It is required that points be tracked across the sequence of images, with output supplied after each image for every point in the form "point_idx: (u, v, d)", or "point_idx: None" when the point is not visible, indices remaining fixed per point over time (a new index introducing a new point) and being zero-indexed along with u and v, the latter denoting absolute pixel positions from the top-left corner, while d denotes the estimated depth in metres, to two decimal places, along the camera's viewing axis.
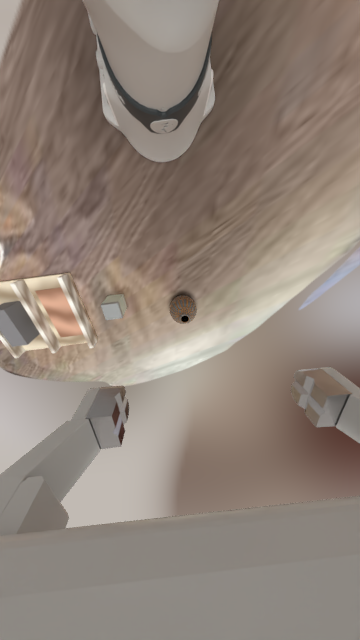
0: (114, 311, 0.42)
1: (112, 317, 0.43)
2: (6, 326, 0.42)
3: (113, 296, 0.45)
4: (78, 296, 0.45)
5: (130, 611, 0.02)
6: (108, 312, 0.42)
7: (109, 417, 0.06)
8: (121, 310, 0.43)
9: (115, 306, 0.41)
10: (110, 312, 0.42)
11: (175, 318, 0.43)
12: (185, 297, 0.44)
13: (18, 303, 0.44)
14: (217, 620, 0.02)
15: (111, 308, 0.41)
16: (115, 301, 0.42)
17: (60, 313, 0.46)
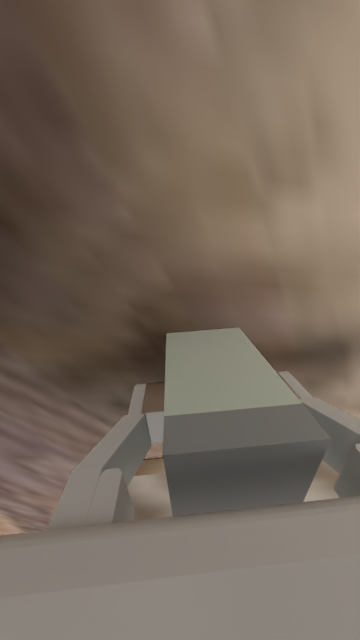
0: (243, 478, 0.05)
1: (292, 490, 0.05)
2: None
3: None
4: None
5: (130, 611, 0.02)
6: (241, 506, 0.05)
7: (163, 412, 0.07)
8: (248, 409, 0.05)
9: (201, 472, 0.04)
10: (246, 497, 0.05)
11: None
12: None
13: None
14: (217, 620, 0.02)
15: (211, 490, 0.05)
16: None
17: None
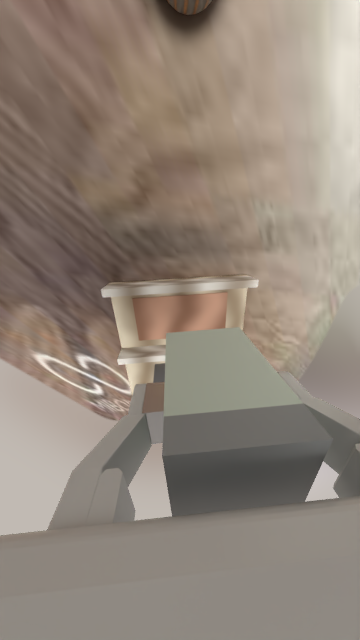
0: (244, 479, 0.05)
1: (293, 491, 0.05)
2: None
3: None
4: (151, 281, 0.25)
5: (130, 611, 0.02)
6: (241, 507, 0.05)
7: None
8: (249, 410, 0.05)
9: (200, 472, 0.04)
10: (246, 497, 0.05)
11: None
12: None
13: (157, 366, 0.30)
14: (217, 620, 0.02)
15: (211, 491, 0.05)
16: None
17: (179, 319, 0.27)
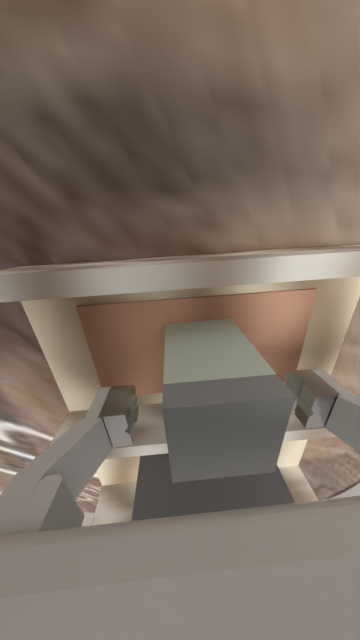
0: (227, 432, 0.06)
1: (268, 445, 0.06)
2: None
3: None
4: (123, 260, 0.10)
5: (130, 611, 0.02)
6: (227, 460, 0.06)
7: (122, 416, 0.06)
8: (232, 378, 0.06)
9: (192, 425, 0.06)
10: (230, 450, 0.06)
11: None
12: None
13: None
14: (217, 620, 0.02)
15: (201, 443, 0.06)
16: None
17: None
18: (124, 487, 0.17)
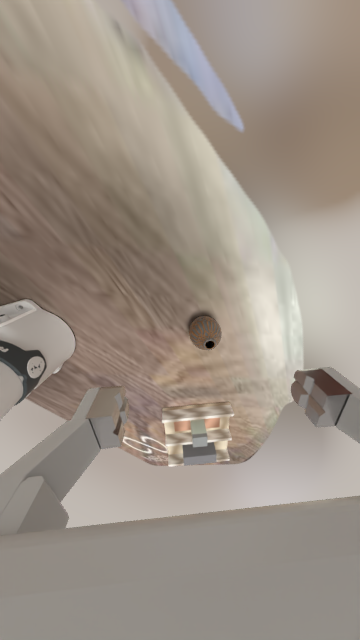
0: (200, 440, 0.48)
1: (205, 442, 0.48)
2: (197, 460, 0.53)
3: None
4: (182, 408, 0.52)
5: (130, 611, 0.02)
6: (200, 444, 0.48)
7: (109, 417, 0.06)
8: (200, 433, 0.48)
9: (195, 439, 0.47)
10: (200, 442, 0.48)
11: None
12: (190, 330, 0.38)
13: None
14: (217, 620, 0.02)
15: (196, 442, 0.48)
16: (192, 435, 0.49)
17: None
18: (175, 455, 0.59)
